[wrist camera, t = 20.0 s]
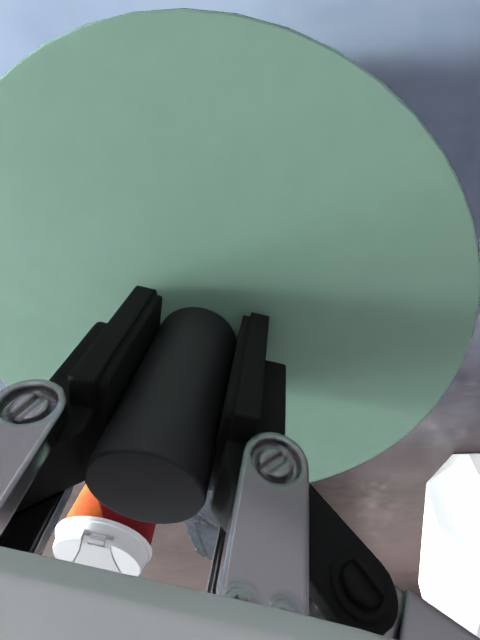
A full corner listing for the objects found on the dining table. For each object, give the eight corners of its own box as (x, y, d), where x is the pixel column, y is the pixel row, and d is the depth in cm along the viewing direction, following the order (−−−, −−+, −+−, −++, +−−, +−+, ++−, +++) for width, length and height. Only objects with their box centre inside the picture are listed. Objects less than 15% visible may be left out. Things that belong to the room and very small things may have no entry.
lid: (-148, 120, 10) (-618, 155, 5) (497, -107, 6) (1284, -836, 1) (98, 475, 18) (21, 633, 13) (448, 458, 14) (536, 664, 9)
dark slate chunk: (289, 452, 39) (289, 493, 35) (303, 555, 51) (304, 594, 47) (156, 453, 42) (142, 491, 38) (197, 550, 53) (190, 587, 49)
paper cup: (120, 385, 37) (40, 525, 25) (194, 402, 37) (149, 549, 25) (118, 434, 41) (50, 573, 29) (185, 449, 41) (143, 594, 29)
